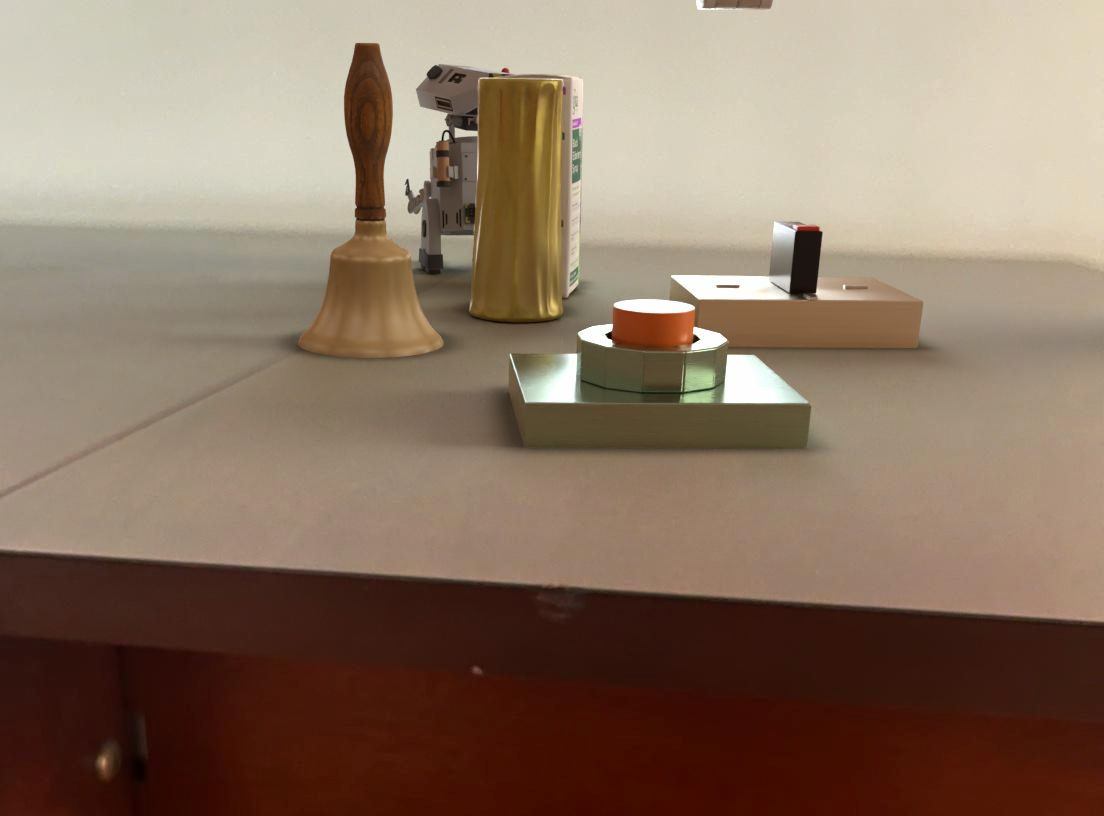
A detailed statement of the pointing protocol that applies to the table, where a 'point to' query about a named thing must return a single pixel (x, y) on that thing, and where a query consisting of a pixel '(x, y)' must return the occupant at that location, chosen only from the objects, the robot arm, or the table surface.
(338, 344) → the hand bell
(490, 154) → the vase
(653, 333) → the button
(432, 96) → the figurine
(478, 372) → the table surface
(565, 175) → the syrup box
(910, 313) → the tan slotted base
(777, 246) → the black battery pack
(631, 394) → the button box
